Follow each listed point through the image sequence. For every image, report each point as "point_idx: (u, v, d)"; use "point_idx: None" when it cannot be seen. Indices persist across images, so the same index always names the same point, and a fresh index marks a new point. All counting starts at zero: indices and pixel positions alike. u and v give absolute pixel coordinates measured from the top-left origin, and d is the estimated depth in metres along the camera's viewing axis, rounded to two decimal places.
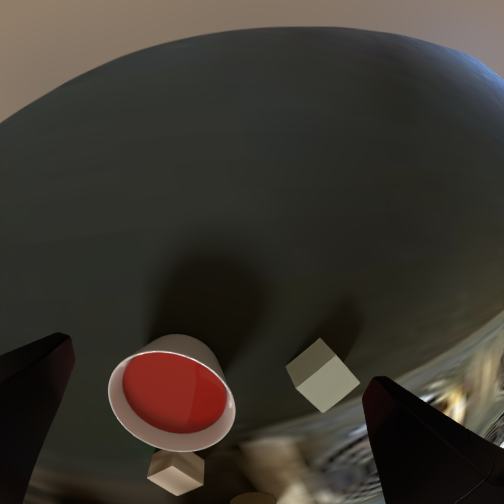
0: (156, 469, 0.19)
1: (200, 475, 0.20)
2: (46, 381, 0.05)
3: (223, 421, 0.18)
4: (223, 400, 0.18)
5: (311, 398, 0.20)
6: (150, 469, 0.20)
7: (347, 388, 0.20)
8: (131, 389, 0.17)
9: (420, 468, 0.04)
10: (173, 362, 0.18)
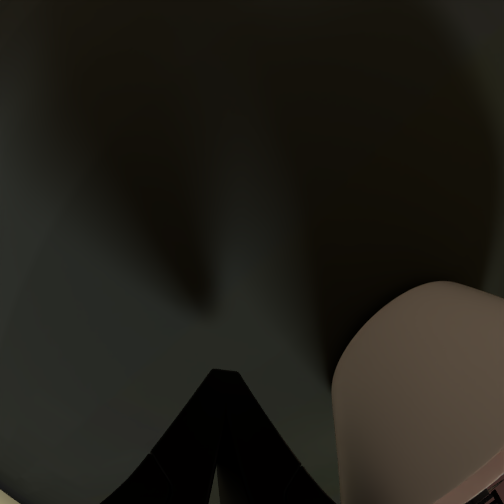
0: None
1: None
2: None
3: None
4: None
5: None
6: None
7: None
8: None
9: (232, 495, 0.04)
10: None
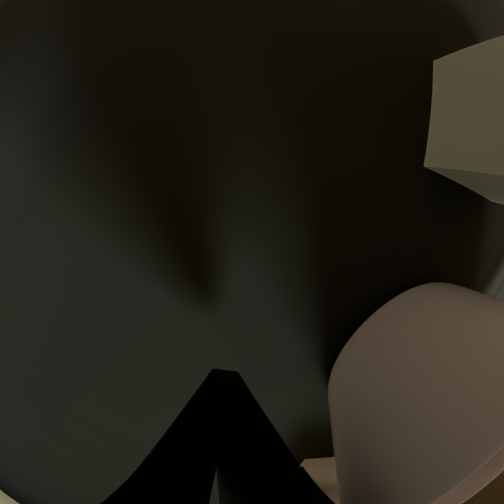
0: None
1: None
2: None
3: None
4: None
5: None
6: None
7: None
8: None
9: (231, 495, 0.04)
10: None
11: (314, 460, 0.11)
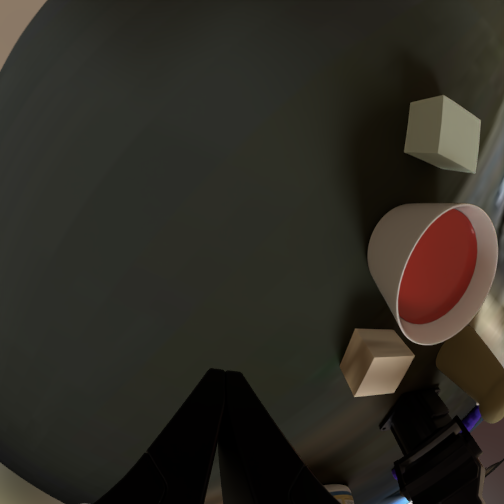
0: (358, 378, 0.18)
1: (404, 347, 0.19)
2: (220, 426, 0.05)
3: (485, 260, 0.14)
4: (474, 239, 0.14)
5: (457, 159, 0.13)
6: (350, 384, 0.19)
7: (475, 131, 0.12)
8: (402, 299, 0.15)
9: (235, 495, 0.04)
10: (429, 231, 0.14)
11: (361, 329, 0.21)
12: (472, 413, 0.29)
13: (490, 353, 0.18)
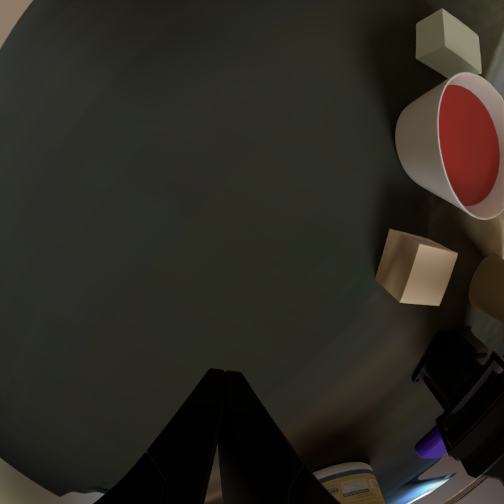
0: (402, 278, 0.16)
1: (444, 247, 0.16)
2: (220, 426, 0.05)
3: None
4: (493, 127, 0.12)
5: (462, 55, 0.11)
6: (393, 290, 0.17)
7: (475, 41, 0.10)
8: None
9: (236, 495, 0.04)
10: (452, 102, 0.12)
11: (396, 230, 0.18)
12: None
13: None
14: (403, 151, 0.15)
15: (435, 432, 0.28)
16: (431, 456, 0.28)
